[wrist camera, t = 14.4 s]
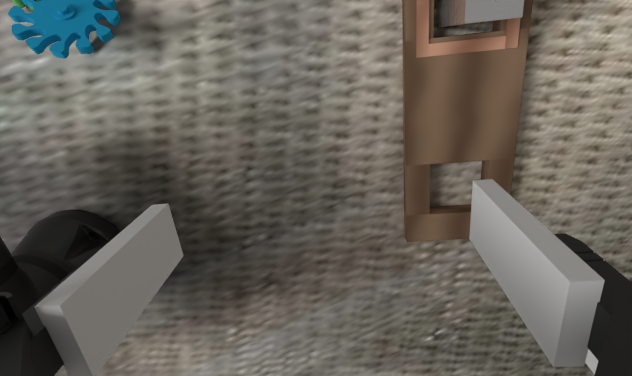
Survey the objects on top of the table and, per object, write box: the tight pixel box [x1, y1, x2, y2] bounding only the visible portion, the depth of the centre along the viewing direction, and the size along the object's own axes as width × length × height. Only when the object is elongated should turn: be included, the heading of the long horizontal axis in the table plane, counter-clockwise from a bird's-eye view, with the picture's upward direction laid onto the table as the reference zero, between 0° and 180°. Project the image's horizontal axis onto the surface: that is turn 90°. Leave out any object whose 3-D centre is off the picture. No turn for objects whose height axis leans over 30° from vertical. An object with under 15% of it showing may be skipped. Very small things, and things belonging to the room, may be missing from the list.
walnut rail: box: [402, 0, 533, 242], centre depth 39 cm, size 12×34×2 cm, turn 6°
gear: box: [8, 0, 121, 58], centre depth 38 cm, size 11×6×10 cm
